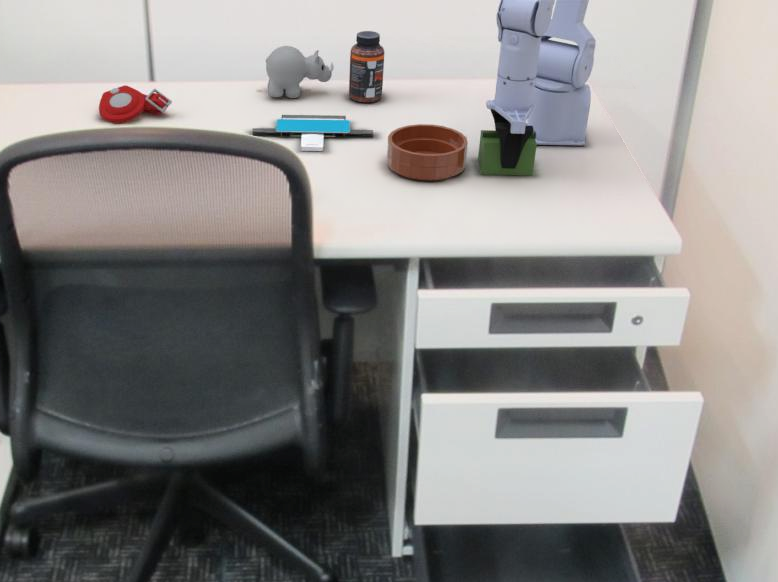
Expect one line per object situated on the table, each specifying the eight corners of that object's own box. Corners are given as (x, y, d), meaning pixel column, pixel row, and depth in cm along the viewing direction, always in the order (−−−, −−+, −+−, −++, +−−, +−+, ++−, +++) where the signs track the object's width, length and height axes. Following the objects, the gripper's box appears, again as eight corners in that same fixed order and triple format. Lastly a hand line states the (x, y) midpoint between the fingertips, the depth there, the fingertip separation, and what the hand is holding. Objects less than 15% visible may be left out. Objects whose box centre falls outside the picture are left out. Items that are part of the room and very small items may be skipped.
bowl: (461, 151, 180) (463, 124, 177) (467, 183, 170) (470, 156, 168) (385, 150, 180) (386, 123, 178) (387, 182, 170) (389, 154, 168)
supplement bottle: (379, 105, 196) (382, 40, 189) (346, 102, 197) (348, 38, 190) (384, 93, 201) (387, 30, 194) (351, 90, 202) (353, 27, 195)
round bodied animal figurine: (334, 101, 197) (335, 53, 192) (266, 101, 197) (265, 53, 192) (331, 86, 203) (333, 40, 198) (265, 87, 203) (265, 40, 198)
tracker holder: (104, 121, 186) (88, 88, 192) (111, 142, 190) (95, 108, 195) (172, 97, 188) (154, 64, 194) (177, 117, 191) (159, 85, 197)
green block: (528, 162, 177) (533, 126, 173) (533, 175, 173) (538, 138, 169) (476, 161, 177) (480, 125, 173) (480, 174, 173) (484, 137, 169)
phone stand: (250, 150, 180) (249, 140, 179) (254, 121, 189) (254, 112, 188) (374, 152, 180) (374, 142, 179) (372, 123, 189) (372, 114, 188)
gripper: (484, 57, 172) (476, 141, 180) (495, 91, 160) (485, 179, 168) (530, 58, 172) (519, 141, 180) (544, 92, 160) (532, 180, 168)
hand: (506, 160), depth 174 cm, fingers closed on green block, 5 cm apart
